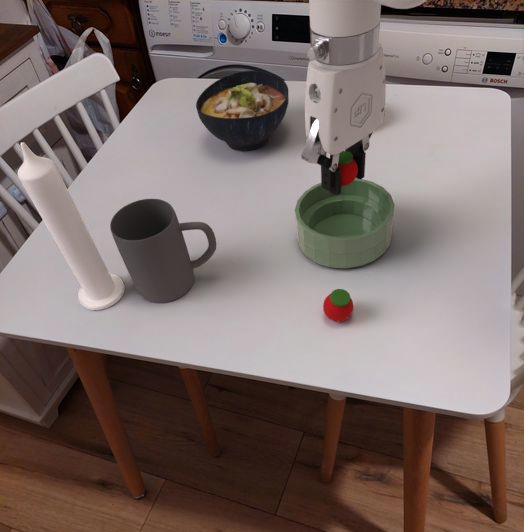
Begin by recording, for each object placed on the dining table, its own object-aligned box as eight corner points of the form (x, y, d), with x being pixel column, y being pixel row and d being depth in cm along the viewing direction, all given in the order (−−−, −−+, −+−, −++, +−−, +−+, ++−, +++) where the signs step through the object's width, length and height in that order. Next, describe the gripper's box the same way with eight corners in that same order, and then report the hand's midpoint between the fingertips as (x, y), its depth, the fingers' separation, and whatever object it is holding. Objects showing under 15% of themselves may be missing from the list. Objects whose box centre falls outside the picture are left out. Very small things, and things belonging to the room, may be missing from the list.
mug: (133, 307, 76) (103, 245, 66) (140, 264, 81) (114, 201, 72) (224, 297, 75) (207, 233, 65) (225, 255, 80) (209, 190, 71)
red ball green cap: (342, 171, 73) (342, 144, 70) (363, 182, 71) (364, 154, 68) (322, 184, 72) (321, 157, 68) (343, 195, 70) (343, 168, 66)
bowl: (191, 160, 98) (177, 109, 90) (225, 113, 107) (216, 63, 99) (274, 169, 93) (268, 116, 85) (303, 119, 102) (300, 66, 94)
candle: (76, 287, 80) (-11, 138, 60) (119, 271, 81) (47, 119, 61) (84, 317, 76) (-7, 168, 56) (129, 299, 77) (56, 147, 57)
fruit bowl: (342, 198, 85) (342, 166, 80) (410, 235, 78) (415, 202, 73) (279, 241, 81) (275, 210, 76) (345, 285, 73) (346, 254, 68)
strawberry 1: (324, 300, 71) (327, 281, 68) (352, 306, 71) (357, 287, 67) (319, 324, 69) (322, 305, 66) (348, 329, 69) (353, 312, 65)
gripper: (314, 81, 52) (319, 224, 67) (420, 21, 58) (403, 165, 72) (266, 61, 56) (280, 200, 71) (370, 7, 61) (363, 146, 76)
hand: (342, 181), depth 71 cm, fingers closed on red ball green cap, 3 cm apart
